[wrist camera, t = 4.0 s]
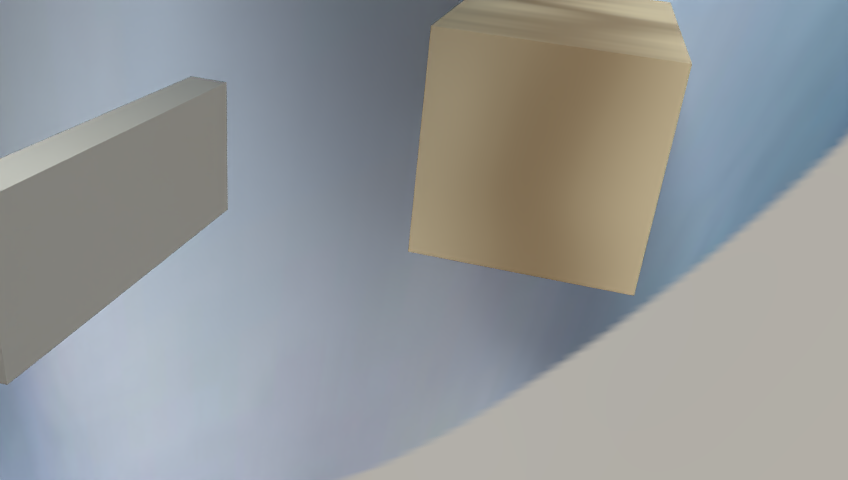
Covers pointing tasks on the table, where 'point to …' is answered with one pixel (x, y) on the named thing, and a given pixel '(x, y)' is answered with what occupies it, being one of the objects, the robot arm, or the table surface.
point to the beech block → (548, 136)
